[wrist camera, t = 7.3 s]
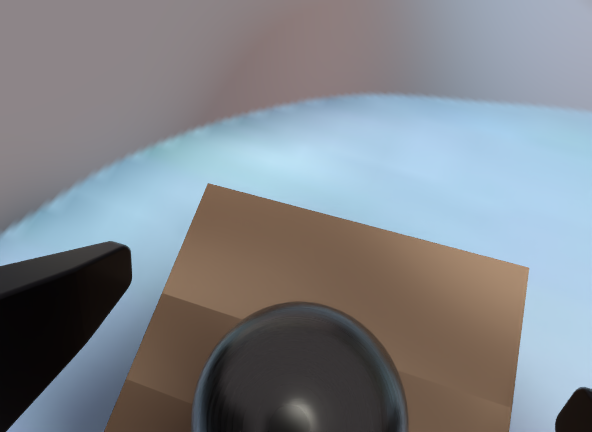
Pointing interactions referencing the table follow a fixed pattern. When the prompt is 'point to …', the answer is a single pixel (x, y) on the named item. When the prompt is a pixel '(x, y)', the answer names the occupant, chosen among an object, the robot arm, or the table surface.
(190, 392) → the wooden box
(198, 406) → the black ball knob
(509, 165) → the table surface
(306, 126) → the table surface
